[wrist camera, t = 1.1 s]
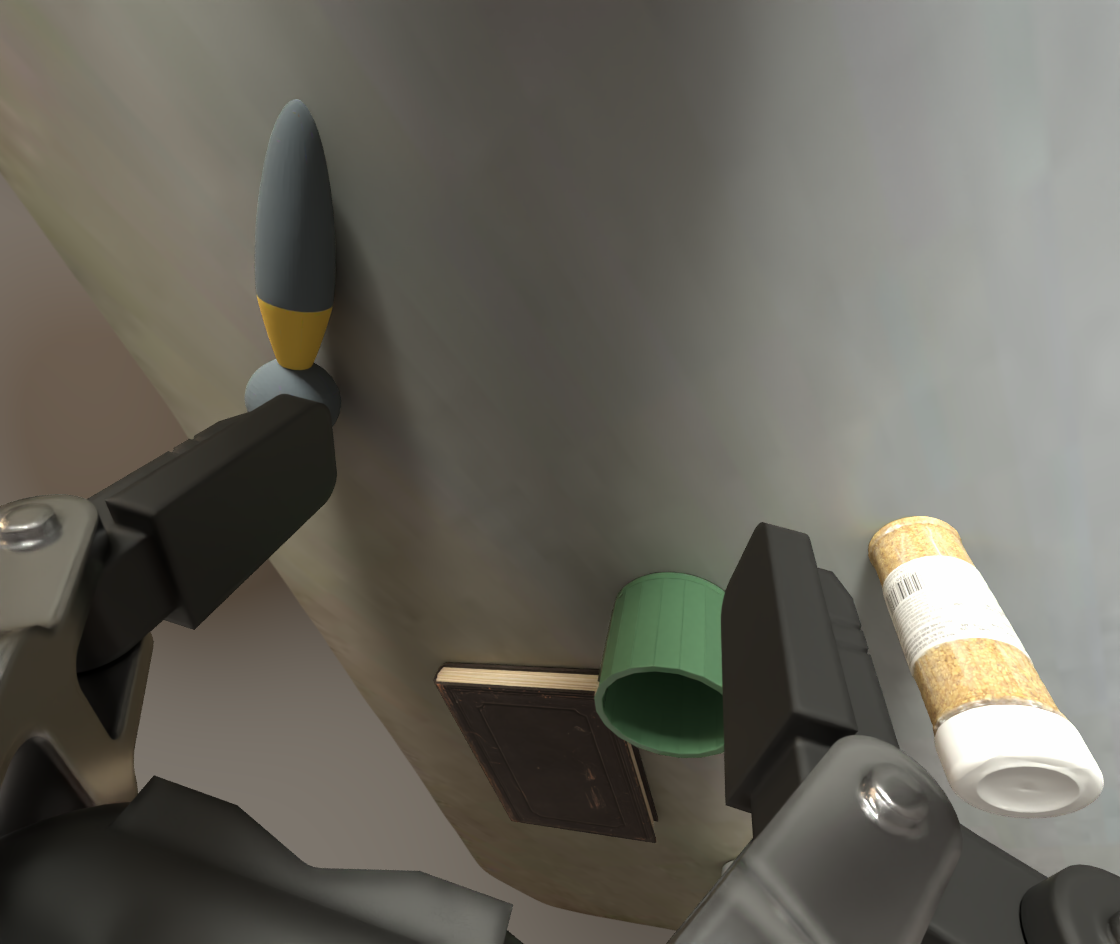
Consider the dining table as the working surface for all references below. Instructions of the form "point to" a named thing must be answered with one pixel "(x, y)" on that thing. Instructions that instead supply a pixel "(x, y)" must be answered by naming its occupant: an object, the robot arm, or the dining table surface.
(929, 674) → the sprinkles bottle
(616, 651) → the cup
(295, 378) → the paintbrush
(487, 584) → the dining table surface
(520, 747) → the hardcover book
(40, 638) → the robot arm
